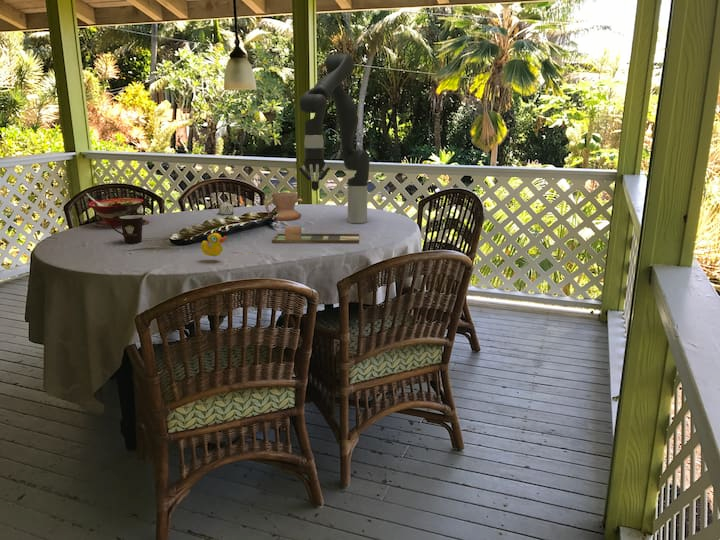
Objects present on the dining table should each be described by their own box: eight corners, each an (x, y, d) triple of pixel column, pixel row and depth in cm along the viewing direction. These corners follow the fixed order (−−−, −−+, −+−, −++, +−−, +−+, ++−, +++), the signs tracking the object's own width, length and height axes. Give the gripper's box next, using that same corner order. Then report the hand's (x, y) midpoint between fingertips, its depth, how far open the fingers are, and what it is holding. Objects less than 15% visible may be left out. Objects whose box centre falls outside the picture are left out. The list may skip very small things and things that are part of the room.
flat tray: (276, 236, 244) (276, 233, 244) (359, 236, 244) (359, 233, 244) (272, 243, 231) (271, 240, 231) (359, 243, 231) (359, 240, 231)
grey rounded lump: (231, 221, 281) (229, 200, 278) (214, 220, 283) (213, 200, 280) (238, 218, 289) (237, 198, 287) (222, 217, 291) (221, 198, 289)
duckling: (229, 255, 210) (228, 232, 208) (224, 257, 205) (223, 234, 203) (205, 254, 211) (203, 231, 209) (199, 256, 207) (197, 233, 205)
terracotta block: (286, 237, 240) (286, 226, 239) (301, 237, 240) (301, 226, 239) (285, 240, 234) (284, 229, 233) (299, 240, 234) (299, 229, 233)
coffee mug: (149, 240, 236) (147, 215, 233) (134, 244, 228) (132, 219, 225) (126, 238, 240) (123, 214, 237) (111, 242, 232) (108, 217, 229)
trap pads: (312, 236, 243) (312, 235, 243) (340, 237, 243) (340, 235, 243) (309, 242, 232) (309, 241, 232) (339, 242, 232) (339, 241, 232)
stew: (73, 229, 259) (69, 193, 255) (114, 221, 280) (110, 188, 276) (122, 234, 249) (118, 197, 245) (160, 225, 270) (157, 191, 266)
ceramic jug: (299, 219, 288) (298, 190, 284) (306, 224, 274) (305, 194, 271) (263, 221, 282) (262, 192, 279) (268, 226, 269) (267, 195, 265)
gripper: (331, 146, 232) (331, 189, 236) (298, 146, 232) (299, 189, 236) (330, 147, 225) (331, 191, 229) (296, 147, 224) (297, 191, 229)
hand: (315, 190), depth 233 cm, fingers closed
